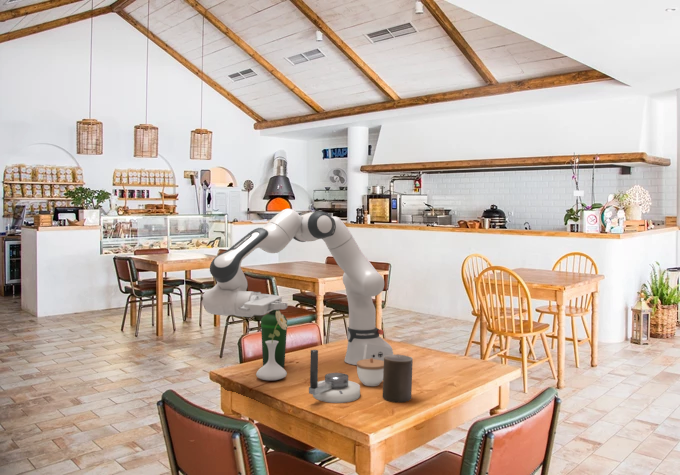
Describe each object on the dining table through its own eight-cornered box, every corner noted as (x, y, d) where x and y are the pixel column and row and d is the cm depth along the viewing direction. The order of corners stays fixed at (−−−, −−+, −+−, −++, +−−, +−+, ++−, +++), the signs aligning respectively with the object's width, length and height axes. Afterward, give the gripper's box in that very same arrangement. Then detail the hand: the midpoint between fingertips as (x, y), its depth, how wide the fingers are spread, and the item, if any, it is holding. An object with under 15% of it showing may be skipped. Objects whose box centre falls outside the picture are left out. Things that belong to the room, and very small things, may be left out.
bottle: (289, 364, 235) (290, 295, 233) (284, 371, 224) (285, 299, 223) (263, 363, 236) (264, 294, 234) (257, 370, 225) (257, 298, 224)
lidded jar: (365, 389, 203) (366, 363, 203) (351, 381, 213) (351, 356, 212) (391, 386, 208) (392, 360, 208) (376, 378, 218) (376, 353, 217)
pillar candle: (391, 404, 189) (392, 358, 188) (377, 395, 198) (378, 351, 197) (417, 400, 193) (418, 356, 192) (402, 392, 202) (403, 349, 201)
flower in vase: (273, 385, 207) (274, 315, 206) (249, 379, 213) (250, 312, 212) (295, 376, 218) (296, 310, 217) (271, 371, 224) (272, 307, 223)
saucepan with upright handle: (334, 379, 203) (335, 340, 202) (353, 384, 198) (353, 343, 197) (302, 391, 189) (302, 349, 188) (321, 396, 184) (321, 353, 183)
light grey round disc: (351, 386, 207) (351, 377, 207) (366, 400, 192) (366, 391, 192) (307, 389, 202) (307, 380, 202) (320, 404, 187) (320, 394, 187)
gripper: (236, 299, 190) (276, 301, 187) (258, 291, 210) (295, 292, 207) (236, 318, 190) (276, 320, 187) (258, 308, 210) (294, 310, 207)
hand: (286, 306), depth 197 cm, fingers closed
